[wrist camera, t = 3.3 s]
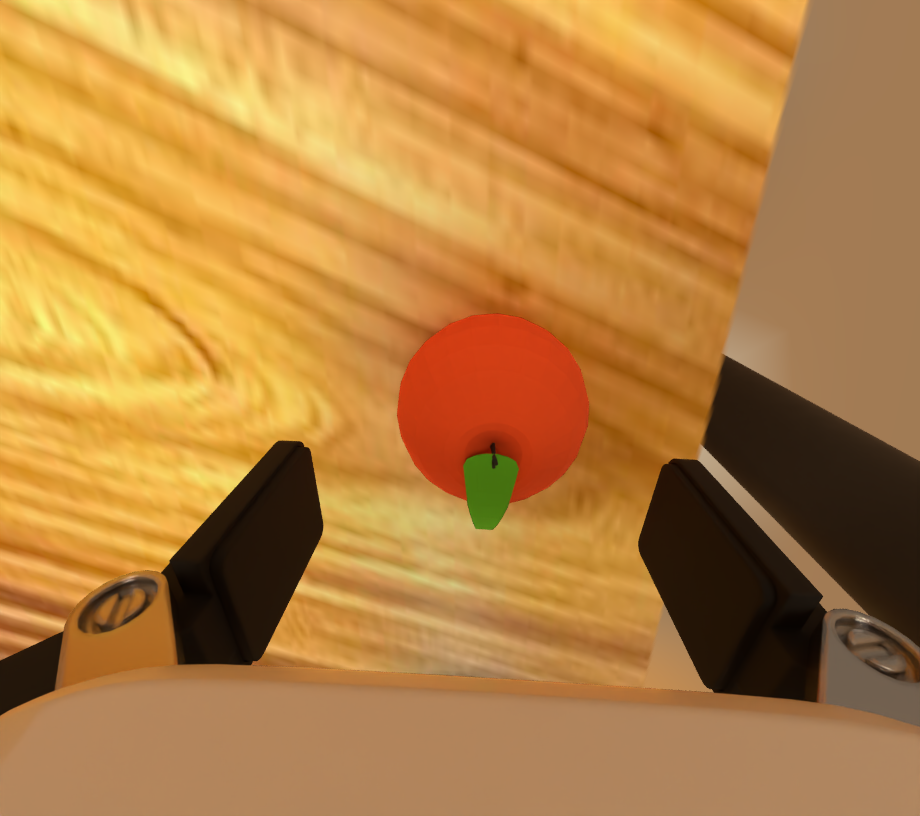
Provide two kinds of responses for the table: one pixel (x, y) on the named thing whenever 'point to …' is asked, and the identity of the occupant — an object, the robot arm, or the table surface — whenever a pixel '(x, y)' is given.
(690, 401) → the table surface
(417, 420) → the clementine
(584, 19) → the table surface
